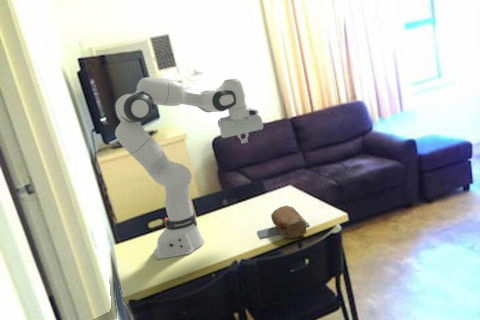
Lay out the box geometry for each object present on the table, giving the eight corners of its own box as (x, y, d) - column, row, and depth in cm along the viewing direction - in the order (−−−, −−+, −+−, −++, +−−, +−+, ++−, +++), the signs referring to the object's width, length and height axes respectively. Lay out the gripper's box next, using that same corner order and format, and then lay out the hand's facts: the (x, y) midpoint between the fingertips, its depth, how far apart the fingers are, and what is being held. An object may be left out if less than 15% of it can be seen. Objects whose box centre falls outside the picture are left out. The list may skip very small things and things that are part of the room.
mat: (260, 238, 178) (260, 237, 178) (257, 232, 185) (257, 231, 185) (309, 226, 181) (309, 225, 180) (304, 220, 188) (304, 219, 188)
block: (291, 203, 188) (306, 219, 169) (294, 218, 190) (309, 235, 171) (268, 209, 187) (281, 226, 168) (271, 224, 189) (284, 242, 170)
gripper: (217, 119, 189) (223, 148, 192) (261, 109, 191) (266, 139, 194) (216, 118, 195) (222, 146, 198) (258, 108, 197) (263, 137, 200)
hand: (244, 142), depth 196 cm, fingers closed
